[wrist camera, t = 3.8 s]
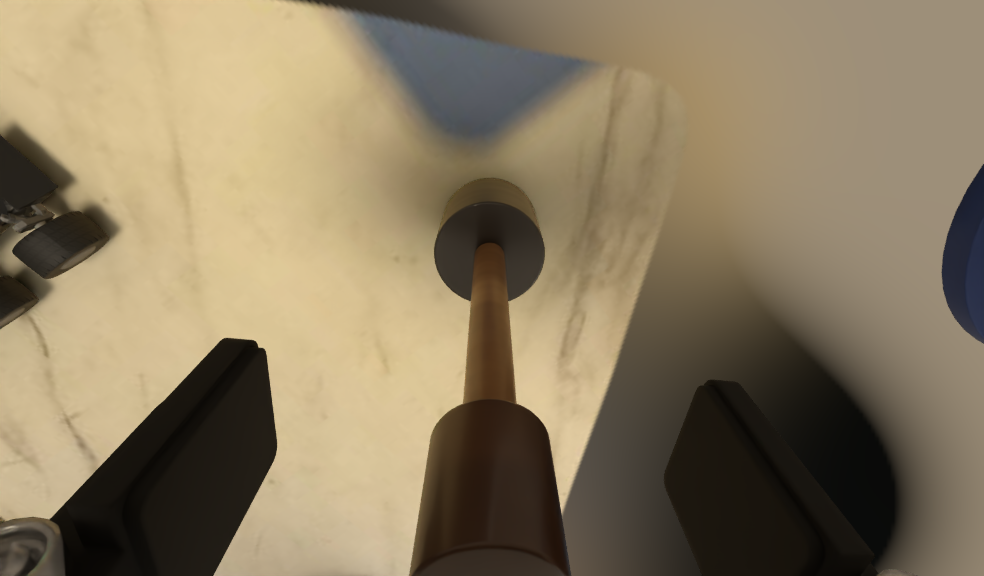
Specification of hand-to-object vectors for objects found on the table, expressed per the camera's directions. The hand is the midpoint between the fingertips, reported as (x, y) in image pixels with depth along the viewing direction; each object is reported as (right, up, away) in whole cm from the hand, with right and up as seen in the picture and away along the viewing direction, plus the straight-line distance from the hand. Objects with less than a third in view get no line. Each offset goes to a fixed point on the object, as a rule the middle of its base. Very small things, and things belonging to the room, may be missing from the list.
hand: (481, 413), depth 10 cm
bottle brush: (0, +6, +12) cm, 13 cm away
